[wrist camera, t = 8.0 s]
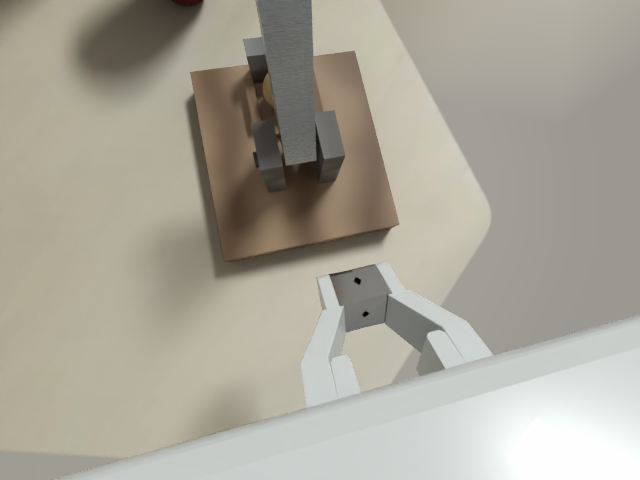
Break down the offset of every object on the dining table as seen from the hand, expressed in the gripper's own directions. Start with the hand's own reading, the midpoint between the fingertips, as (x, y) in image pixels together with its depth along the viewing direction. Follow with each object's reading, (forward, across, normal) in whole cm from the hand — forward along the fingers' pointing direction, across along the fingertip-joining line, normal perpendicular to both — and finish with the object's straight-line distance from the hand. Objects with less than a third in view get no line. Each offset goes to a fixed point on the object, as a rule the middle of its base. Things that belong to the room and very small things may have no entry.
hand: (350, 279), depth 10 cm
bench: (+18, 0, +1) cm, 18 cm away
